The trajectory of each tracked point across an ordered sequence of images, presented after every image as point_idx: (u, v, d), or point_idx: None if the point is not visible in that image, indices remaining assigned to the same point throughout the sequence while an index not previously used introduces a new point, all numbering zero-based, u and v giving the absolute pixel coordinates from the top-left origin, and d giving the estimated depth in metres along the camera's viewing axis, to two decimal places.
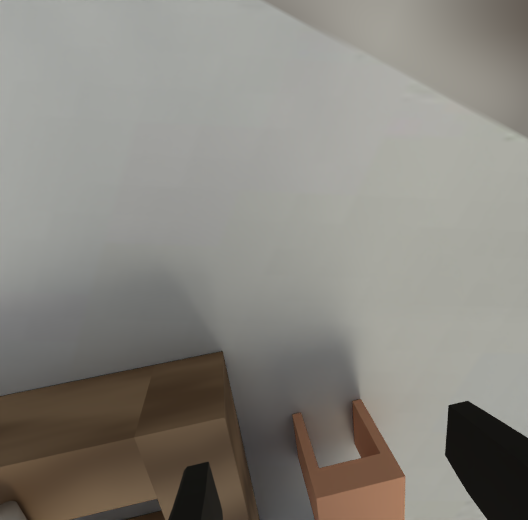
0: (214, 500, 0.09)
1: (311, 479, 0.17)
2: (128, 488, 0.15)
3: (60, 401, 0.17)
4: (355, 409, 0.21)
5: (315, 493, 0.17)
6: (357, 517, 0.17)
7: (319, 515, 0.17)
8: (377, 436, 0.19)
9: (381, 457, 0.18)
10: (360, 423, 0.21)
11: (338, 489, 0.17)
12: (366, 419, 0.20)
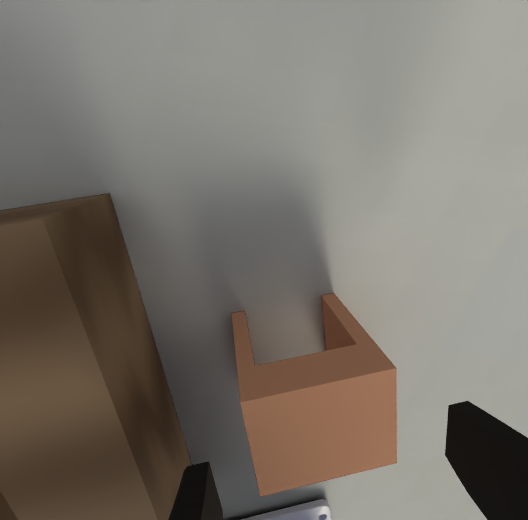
0: (214, 500, 0.09)
1: (239, 380, 0.10)
2: None
3: None
4: (325, 305, 0.14)
5: (240, 396, 0.10)
6: (316, 443, 0.10)
7: (249, 436, 0.10)
8: (354, 326, 0.12)
9: (358, 348, 0.11)
10: (331, 322, 0.14)
11: (280, 389, 0.10)
12: (339, 311, 0.13)
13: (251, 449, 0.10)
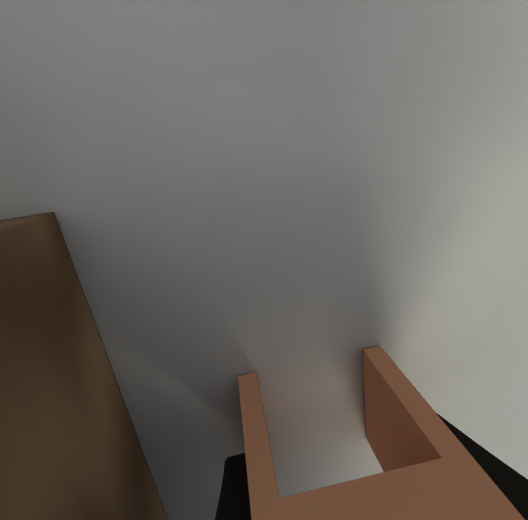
0: None
1: None
2: None
3: None
4: (369, 365, 0.10)
5: None
6: None
7: None
8: (426, 416, 0.08)
9: (446, 468, 0.07)
10: (381, 392, 0.10)
11: None
12: (395, 381, 0.09)
13: None
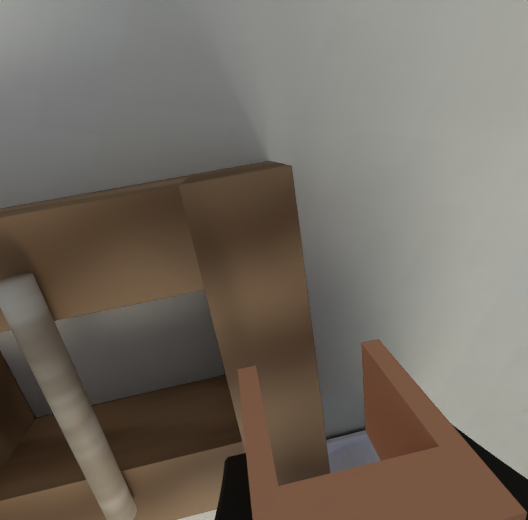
0: None
1: (254, 518, 0.06)
2: (170, 269, 0.12)
3: (81, 196, 0.14)
4: (368, 358, 0.10)
5: None
6: None
7: None
8: (424, 407, 0.08)
9: (443, 456, 0.07)
10: (379, 385, 0.10)
11: None
12: (394, 373, 0.09)
13: None
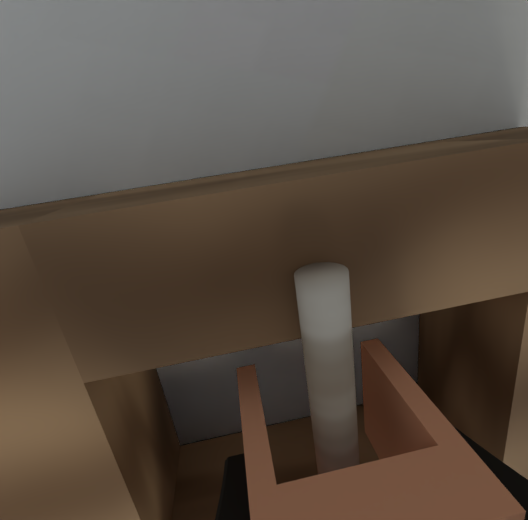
0: None
1: (252, 517, 0.06)
2: (499, 261, 0.08)
3: (319, 162, 0.10)
4: (367, 357, 0.10)
5: None
6: None
7: None
8: (423, 405, 0.08)
9: (442, 455, 0.07)
10: (378, 384, 0.10)
11: None
12: (393, 372, 0.09)
13: None
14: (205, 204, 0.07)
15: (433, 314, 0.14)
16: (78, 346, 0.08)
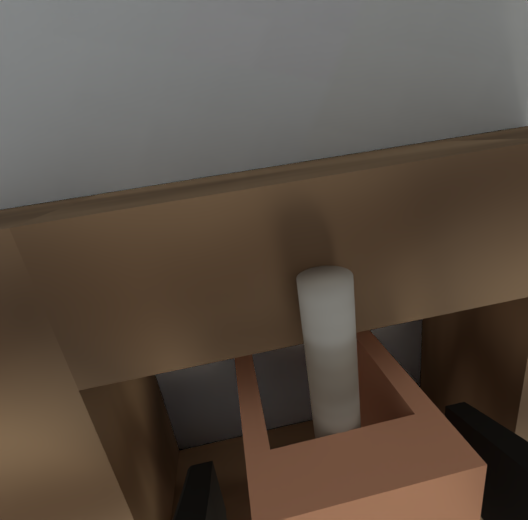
0: (218, 499, 0.09)
1: (249, 476, 0.07)
2: (507, 265, 0.08)
3: (321, 162, 0.10)
4: None
5: (253, 513, 0.06)
6: None
7: None
8: (404, 382, 0.09)
9: (418, 422, 0.08)
10: (365, 366, 0.11)
11: (313, 501, 0.06)
12: (378, 354, 0.10)
13: None
14: (204, 206, 0.07)
15: (437, 317, 0.13)
16: (73, 352, 0.07)
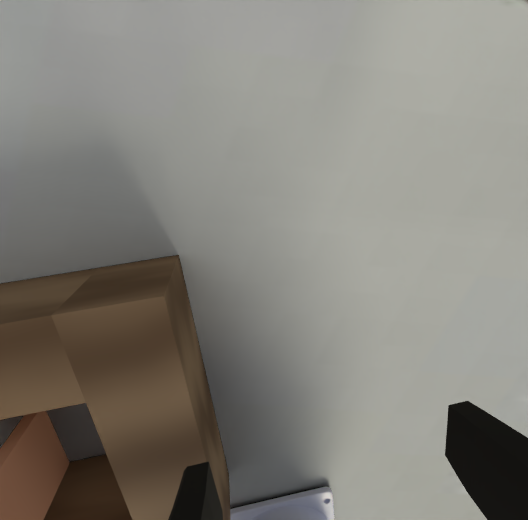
0: (214, 500, 0.09)
1: None
2: (49, 386, 0.12)
3: None
4: None
5: None
6: None
7: None
8: None
9: None
10: None
11: None
12: (16, 433, 0.14)
13: None
14: None
15: None
16: None
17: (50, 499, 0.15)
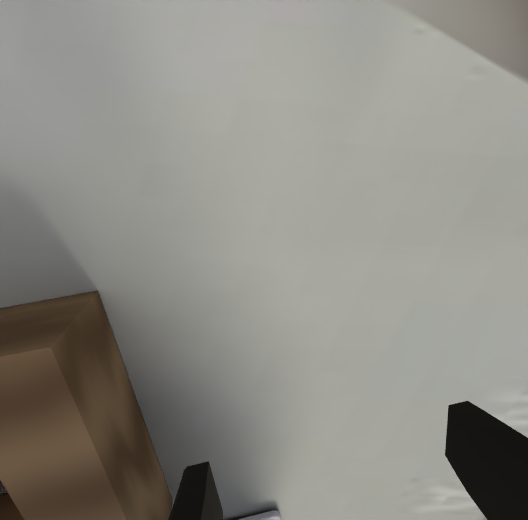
0: (214, 500, 0.09)
1: None
2: None
3: None
4: None
5: None
6: None
7: None
8: None
9: None
10: None
11: None
12: None
13: None
14: None
15: None
16: None
17: None
